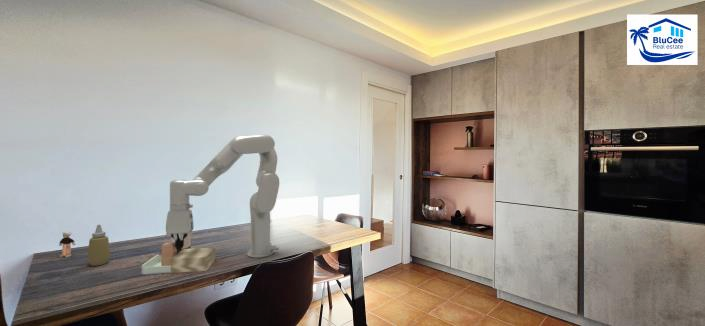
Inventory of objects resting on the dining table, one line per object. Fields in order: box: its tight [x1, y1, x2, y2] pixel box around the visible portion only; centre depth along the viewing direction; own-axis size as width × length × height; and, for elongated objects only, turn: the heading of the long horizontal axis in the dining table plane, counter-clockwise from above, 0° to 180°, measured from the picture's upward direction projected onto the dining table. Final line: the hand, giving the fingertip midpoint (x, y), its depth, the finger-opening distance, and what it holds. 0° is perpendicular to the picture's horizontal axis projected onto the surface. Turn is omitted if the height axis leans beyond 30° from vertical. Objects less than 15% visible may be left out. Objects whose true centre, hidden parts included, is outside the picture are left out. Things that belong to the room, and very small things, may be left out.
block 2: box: [160, 254, 176, 266], centre depth 129 cm, size 5×4×4 cm
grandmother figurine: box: [58, 230, 76, 258], centre depth 144 cm, size 8×4×13 cm, turn 102°
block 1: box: [161, 242, 177, 257], centre depth 129 cm, size 5×4×4 cm
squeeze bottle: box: [86, 224, 111, 267], centre depth 133 cm, size 8×8×18 cm
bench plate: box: [170, 246, 217, 274], centre depth 131 cm, size 14×14×6 cm
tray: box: [141, 254, 172, 276], centre depth 128 cm, size 11×14×4 cm
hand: (179, 248), depth 129 cm, fingers closed
